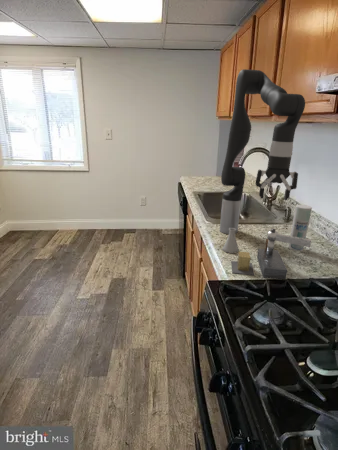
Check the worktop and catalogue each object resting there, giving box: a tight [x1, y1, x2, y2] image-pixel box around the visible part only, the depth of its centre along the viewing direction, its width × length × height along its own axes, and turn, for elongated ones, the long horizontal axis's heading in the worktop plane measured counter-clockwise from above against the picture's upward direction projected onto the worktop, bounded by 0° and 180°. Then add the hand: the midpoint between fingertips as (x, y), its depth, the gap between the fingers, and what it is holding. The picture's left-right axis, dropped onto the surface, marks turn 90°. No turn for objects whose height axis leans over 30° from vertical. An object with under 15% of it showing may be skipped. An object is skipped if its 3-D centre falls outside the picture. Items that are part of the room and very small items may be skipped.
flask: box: [221, 228, 239, 254], centre depth 131 cm, size 7×7×10 cm
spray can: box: [288, 204, 313, 252], centre depth 134 cm, size 6×6×20 cm
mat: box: [230, 260, 255, 276], centre depth 117 cm, size 10×8×1 cm
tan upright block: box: [237, 251, 251, 271], centre depth 116 cm, size 5×4×6 cm
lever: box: [267, 228, 312, 248], centre depth 116 cm, size 16×4×4 cm, turn 63°
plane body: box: [256, 238, 288, 281], centre depth 116 cm, size 18×8×10 cm, turn 171°
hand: (273, 198), depth 112 cm, fingers open, 8 cm apart
